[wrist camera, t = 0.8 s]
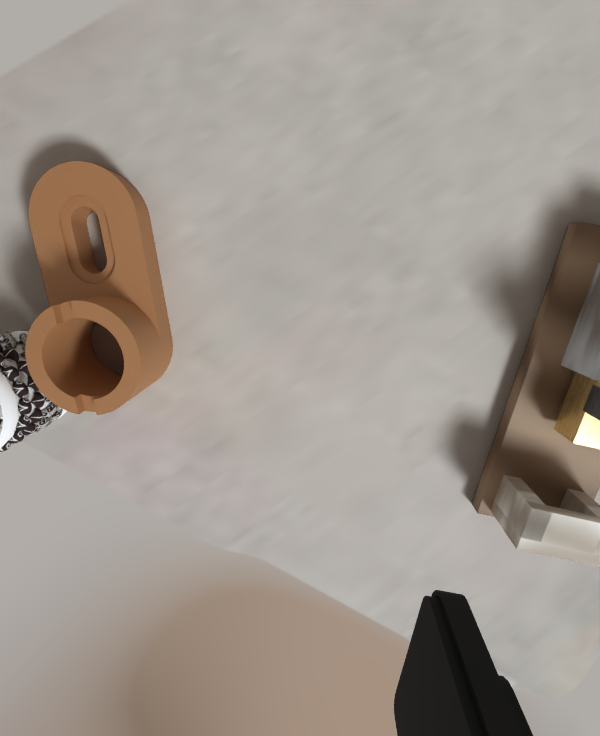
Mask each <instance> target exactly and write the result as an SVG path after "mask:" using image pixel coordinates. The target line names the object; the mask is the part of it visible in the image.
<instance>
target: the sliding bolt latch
mask: <svg viewBox="0 0 600 736" xmlns="http://www.w3.org/2000/svg"><path fill="white" fill-rule="evenodd" d="M575 372H578V373H580V374H582V375H584V376H587V377H589V378H591V379H594V380H597V381H600V226H598V225H594V224H589V223H585V222H575V223H569V226H568V228H567V231H566V234H565V237H564V240H563V243H562V246H561V249H560V251H559V254H558V257H557V260H556V263H555V266H554V269H553V272H552V274H551V277H550V280H549V283H548V286H547V289H546V292H545V295H544V297H543V300H542V303H541V306H540V309H539V312H538V315H537V318H536V321H535V323H534V326H533V329H532V332H531V335H530V338H529V341H528V344H527V346H526V349H525V352H524V355H523V358H522V361H521V364H520V367H519V369H518V372H517V375H516V378H515V381H514V384H513V387H512V390H511V392H510V395H509V398H508V401H507V404H506V407H505V410H504V413H503V415H502V418H501V421H500V424H499V427H498V430H497V433H496V436H495V438H494V441H493V444H492V447H491V450H490V453H489V456H488V459H487V461H486V464H485V467H484V470H483V473H482V476H481V479H480V482H479V484H478V487H477V490H476V493H475V496H474V499H473V502H472V505H473V506H474V508H475V510H476V511H477V513H480V514H484V515H489V516H493V517H495V518H496V519H497V521H498V522H499V524H500V525H501V527H502V528H503V530H504V531H505V533H506V534H507V536H508V537H509V539H510V540H511V541H512V543H513V544H514V546H515V547H516V549H519V550H523V551H528V552H532V553H537V554H542V555H546V556H551V557H555V558H560V559H565V560H569V561H574V562H578V563H583V564H587V565H592V566H597V567H600V505H599V504H598V503H596V502H595V501H594V499H595V497H596V494H597V492H598V490H599V487H600V449H597V448H592V447H588V446H583V445H579V444H574V443H572V442H571V441H569V440H568V439H566V438H565V437H564V436H562V435H561V434H560V433H558V432H557V431H556V430H554V427H555V424H556V421H557V419H558V416H559V413H560V411H561V408H562V406H563V403H564V400H565V398H566V395H567V392H568V390H569V387H570V385H571V382H572V379H573V377H574V374H575Z"/></svg>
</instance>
